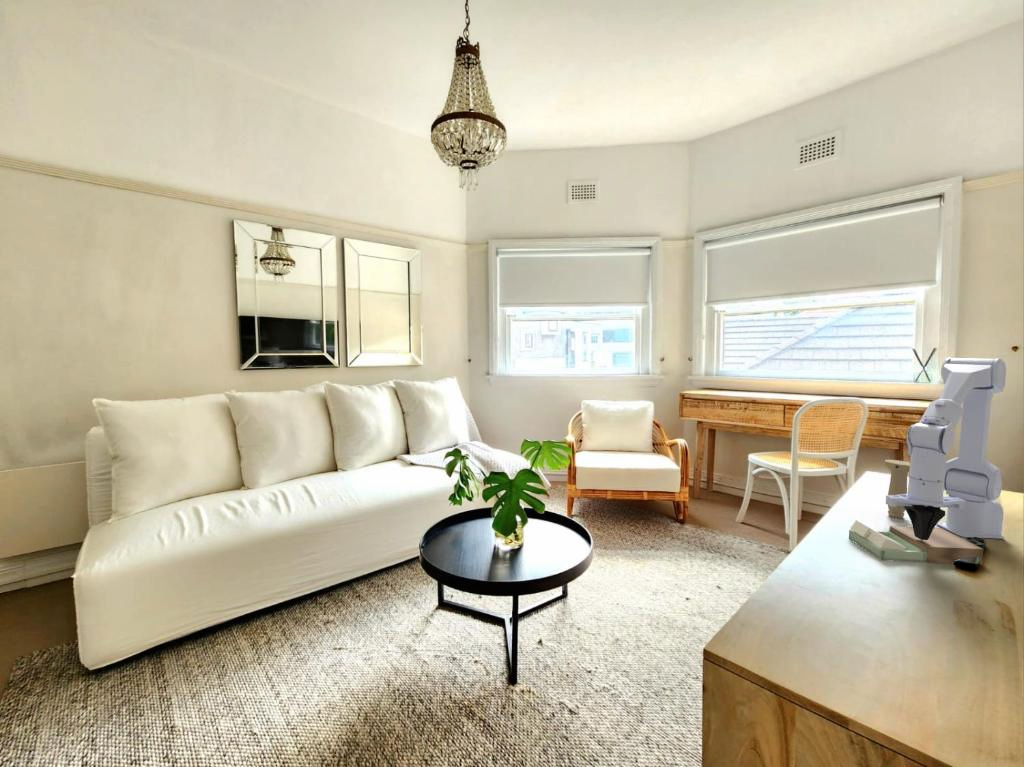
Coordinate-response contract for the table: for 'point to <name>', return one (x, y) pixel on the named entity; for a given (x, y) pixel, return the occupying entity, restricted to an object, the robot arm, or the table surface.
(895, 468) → the handle
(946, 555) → the board
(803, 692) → the table surface
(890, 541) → the tile
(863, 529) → the tile
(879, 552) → the tray
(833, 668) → the table surface
